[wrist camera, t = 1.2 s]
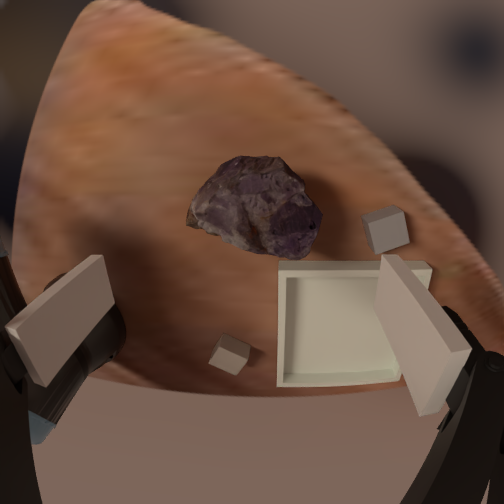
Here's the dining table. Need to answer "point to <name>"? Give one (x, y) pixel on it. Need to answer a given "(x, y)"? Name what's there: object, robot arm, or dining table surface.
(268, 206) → the rock
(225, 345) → the matte grey cube
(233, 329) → the dining table surface
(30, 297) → the dining table surface
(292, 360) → the dish
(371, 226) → the squat grey cube
